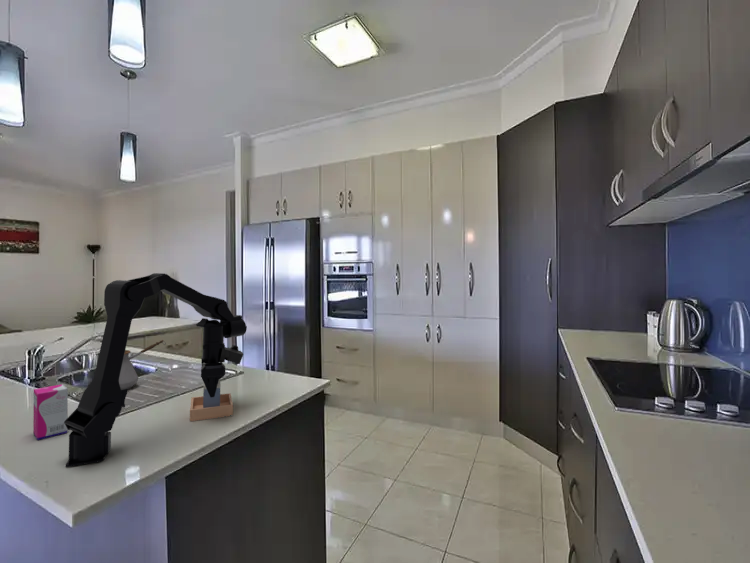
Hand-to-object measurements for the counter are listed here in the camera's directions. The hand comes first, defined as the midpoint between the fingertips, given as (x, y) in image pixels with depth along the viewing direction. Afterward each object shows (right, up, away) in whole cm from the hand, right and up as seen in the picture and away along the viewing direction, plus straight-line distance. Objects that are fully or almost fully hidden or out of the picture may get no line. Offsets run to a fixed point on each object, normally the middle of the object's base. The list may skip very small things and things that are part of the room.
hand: (212, 392), depth 106 cm
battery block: (0, -5, 0) cm, 5 cm away
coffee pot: (-39, -5, +22) cm, 45 cm away
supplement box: (-33, -5, -17) cm, 38 cm away
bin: (0, -6, 0) cm, 6 cm away
